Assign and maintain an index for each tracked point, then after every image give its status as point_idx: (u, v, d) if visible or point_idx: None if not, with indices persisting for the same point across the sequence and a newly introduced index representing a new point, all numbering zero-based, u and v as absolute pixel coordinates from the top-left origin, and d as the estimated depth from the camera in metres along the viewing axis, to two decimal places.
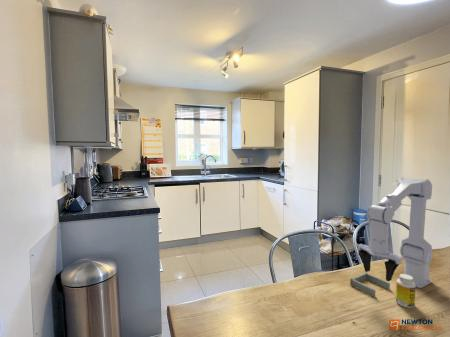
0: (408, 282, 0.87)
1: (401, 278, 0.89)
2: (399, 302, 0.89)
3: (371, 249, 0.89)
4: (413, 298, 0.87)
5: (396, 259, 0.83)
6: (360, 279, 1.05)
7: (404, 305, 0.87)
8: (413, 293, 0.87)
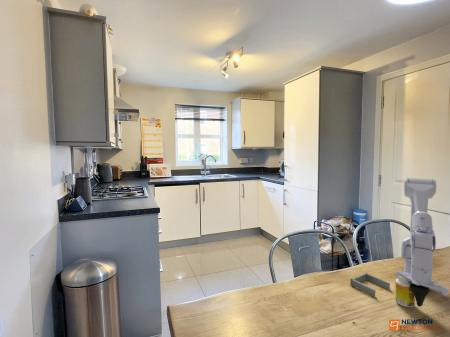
0: (407, 281, 0.87)
1: (400, 277, 0.89)
2: (399, 302, 0.89)
3: (413, 278, 0.84)
4: (412, 297, 0.87)
5: (443, 290, 0.79)
6: (360, 279, 1.05)
7: (404, 305, 0.87)
8: (412, 292, 0.87)
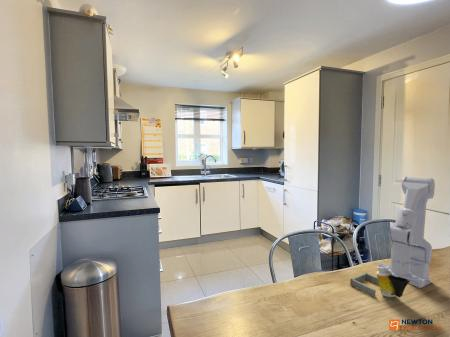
0: (385, 271, 0.94)
1: (378, 268, 0.95)
2: (383, 293, 0.93)
3: (393, 270, 0.90)
4: None
5: (419, 281, 0.84)
6: (360, 279, 1.05)
7: (388, 295, 0.92)
8: None
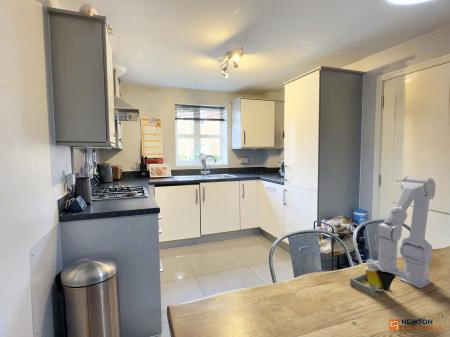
0: (373, 266, 0.98)
1: (367, 264, 0.99)
2: (372, 287, 0.97)
3: (380, 265, 0.94)
4: None
5: (404, 275, 0.88)
6: (360, 279, 1.05)
7: (376, 289, 0.96)
8: None
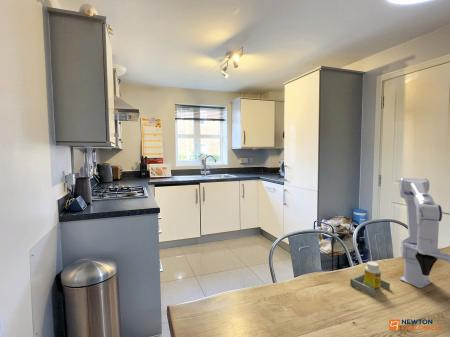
0: (374, 268, 0.98)
1: (368, 265, 0.99)
2: None
3: (420, 248, 0.88)
4: (378, 282, 0.97)
5: (448, 258, 0.83)
6: (360, 279, 1.05)
7: None
8: (378, 278, 0.97)
